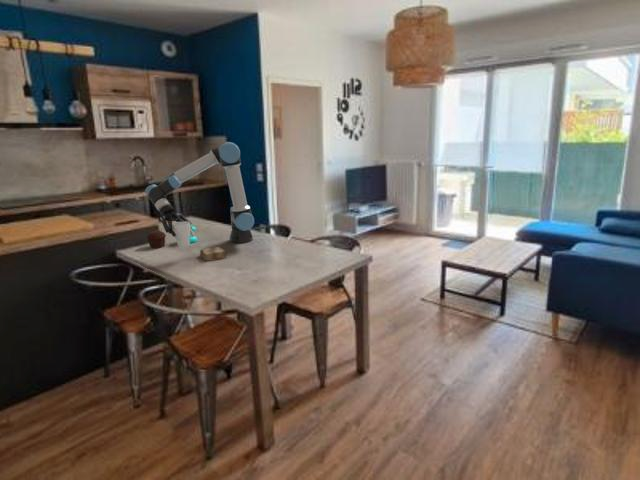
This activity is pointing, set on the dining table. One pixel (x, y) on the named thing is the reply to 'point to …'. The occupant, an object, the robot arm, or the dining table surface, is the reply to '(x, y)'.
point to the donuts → (193, 239)
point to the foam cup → (183, 233)
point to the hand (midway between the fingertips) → (186, 237)
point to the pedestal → (212, 253)
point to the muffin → (156, 239)
